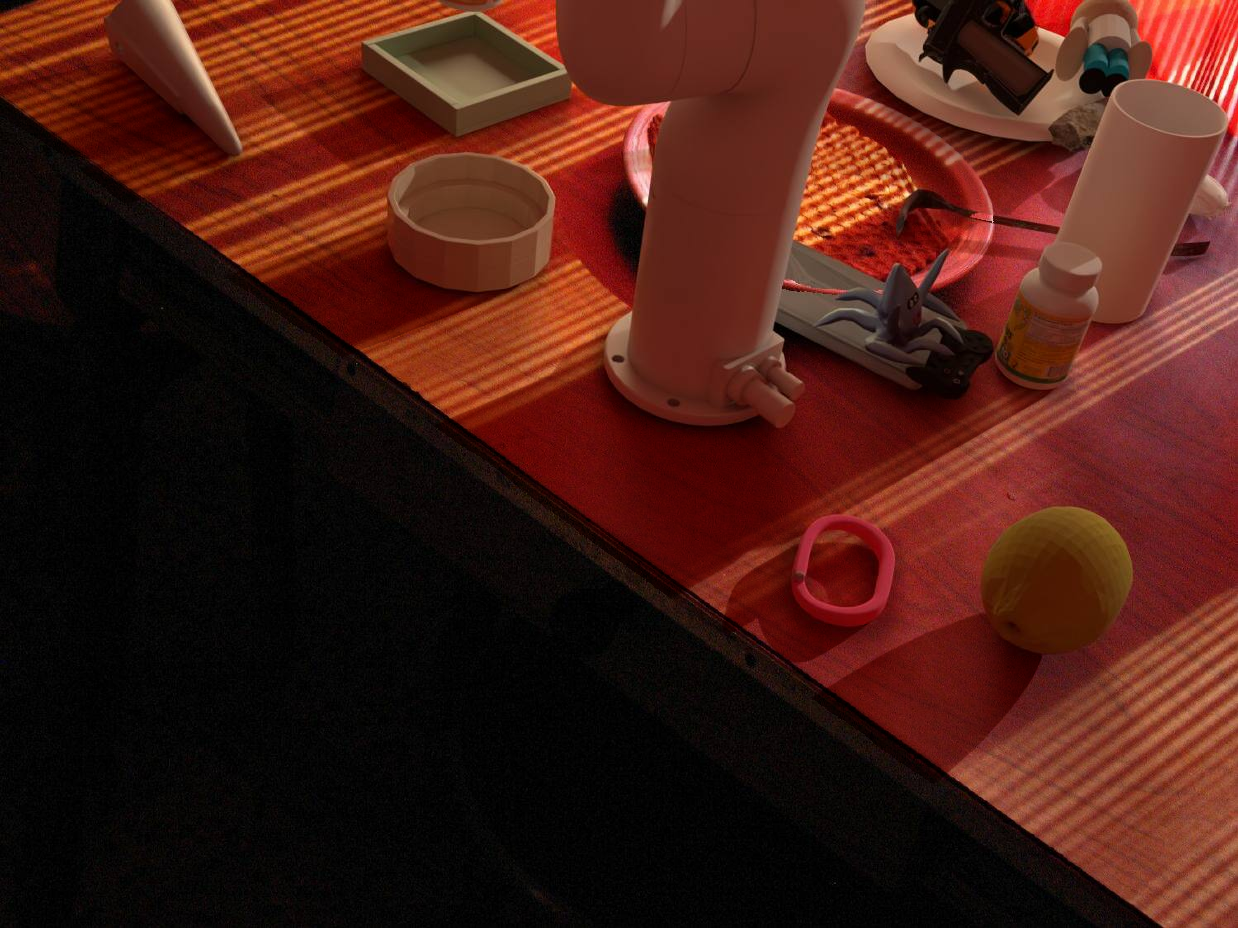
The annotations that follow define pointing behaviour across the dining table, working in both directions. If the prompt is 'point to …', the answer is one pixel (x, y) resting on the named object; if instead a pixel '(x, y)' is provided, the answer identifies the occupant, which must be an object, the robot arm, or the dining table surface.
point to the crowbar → (1008, 220)
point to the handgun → (983, 53)
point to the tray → (466, 71)
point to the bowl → (470, 221)
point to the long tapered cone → (169, 64)
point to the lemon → (1056, 580)
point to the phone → (842, 335)
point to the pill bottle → (471, 4)
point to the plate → (969, 86)
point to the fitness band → (884, 579)
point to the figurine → (917, 331)
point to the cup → (1141, 187)
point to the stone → (1078, 126)
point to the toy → (1103, 47)
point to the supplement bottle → (1050, 317)
